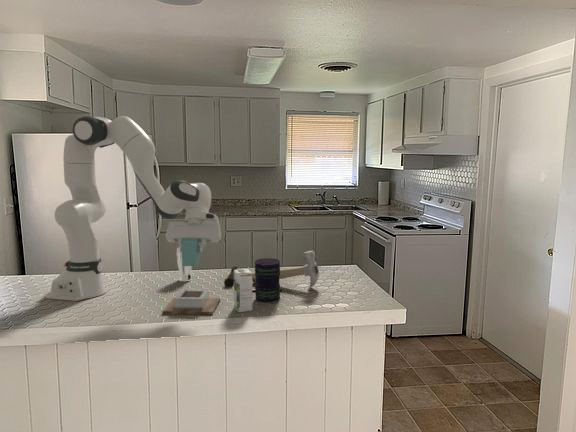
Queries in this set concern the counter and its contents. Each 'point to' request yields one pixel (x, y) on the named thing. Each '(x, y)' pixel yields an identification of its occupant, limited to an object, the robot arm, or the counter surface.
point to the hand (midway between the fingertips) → (190, 251)
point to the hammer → (301, 270)
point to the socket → (192, 299)
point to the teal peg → (190, 252)
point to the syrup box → (242, 290)
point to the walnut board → (208, 309)
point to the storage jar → (267, 280)
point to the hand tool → (230, 278)
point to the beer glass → (183, 268)
